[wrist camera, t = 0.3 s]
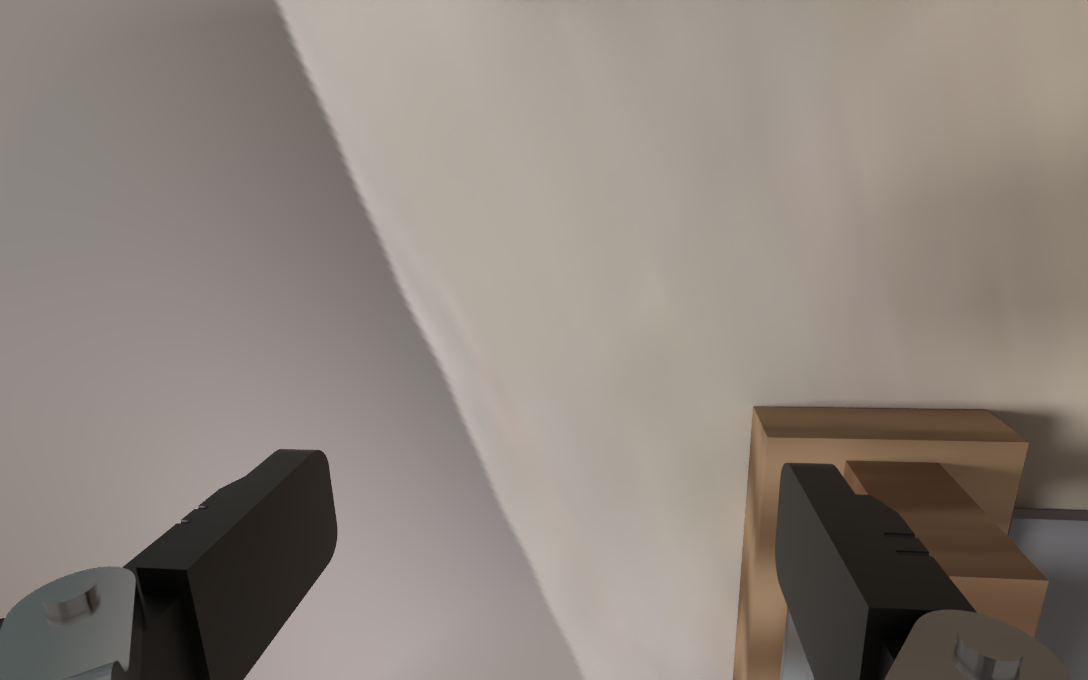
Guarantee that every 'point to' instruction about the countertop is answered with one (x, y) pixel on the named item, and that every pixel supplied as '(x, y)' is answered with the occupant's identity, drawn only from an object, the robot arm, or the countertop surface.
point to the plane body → (903, 485)
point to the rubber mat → (1059, 580)
